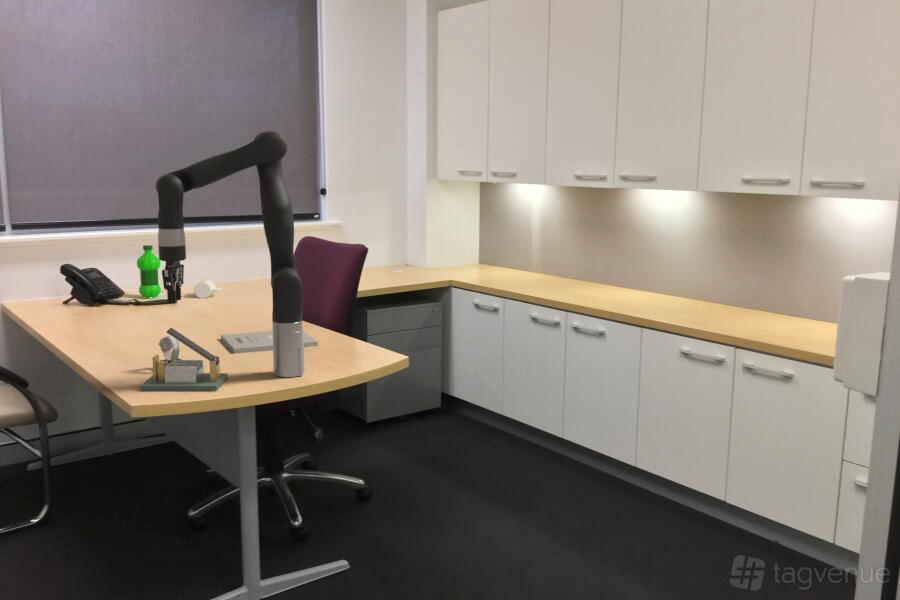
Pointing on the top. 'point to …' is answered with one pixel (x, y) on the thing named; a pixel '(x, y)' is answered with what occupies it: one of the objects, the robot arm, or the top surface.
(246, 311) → the top surface
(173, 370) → the heat sink
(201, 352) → the strap
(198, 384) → the board
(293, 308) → the robot arm
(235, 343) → the award plaque
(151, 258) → the plastic bottle
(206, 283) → the mug
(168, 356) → the watch
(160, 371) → the clip posts
